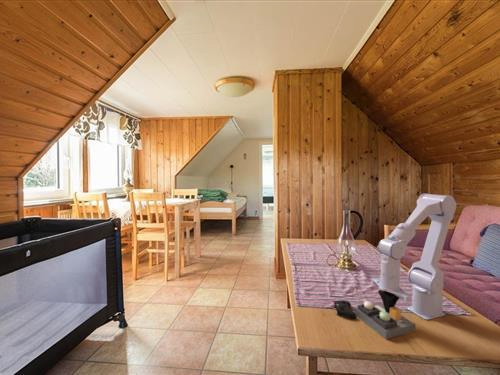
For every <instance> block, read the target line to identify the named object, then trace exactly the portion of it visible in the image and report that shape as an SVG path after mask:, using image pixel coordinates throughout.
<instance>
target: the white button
mask: <svg viewBox="0 0 500 375" xmlns="http://www.w3.org/2000/svg"><path fill="white" fill-rule="evenodd" d="M363 304H364V308H365V309H366V310H370V311H371V310H373V304H374V303H373V302H372V301H369V300H365V301H363Z"/></svg>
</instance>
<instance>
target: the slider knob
mask: <svg viewBox="0 0 500 375" xmlns="http://www.w3.org/2000/svg"><path fill="white" fill-rule="evenodd" d="M389 314H390V317H392V318H393V319H395V320H397V319H401V316H402V309H400V308H399V307H397V306H396V305H395V306H394V307H390V313H389Z"/></svg>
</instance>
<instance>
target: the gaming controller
mask: <svg viewBox="0 0 500 375" xmlns="http://www.w3.org/2000/svg"><path fill="white" fill-rule="evenodd" d="M333 305H334V308H335V310H336V315H337V316H340V317H345V318H348V319H350V320H355V319H357V316H356V315H355V311H354V310H352V309H351V306H352V304H351V302H350V301H348V300H343V299H342V300H339V299H338V300H335V301H334V302H333Z"/></svg>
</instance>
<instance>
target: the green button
mask: <svg viewBox="0 0 500 375" xmlns="http://www.w3.org/2000/svg"><path fill="white" fill-rule="evenodd" d="M380 320H381V321H384V322H390V314H389V313H387V312H380Z"/></svg>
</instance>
